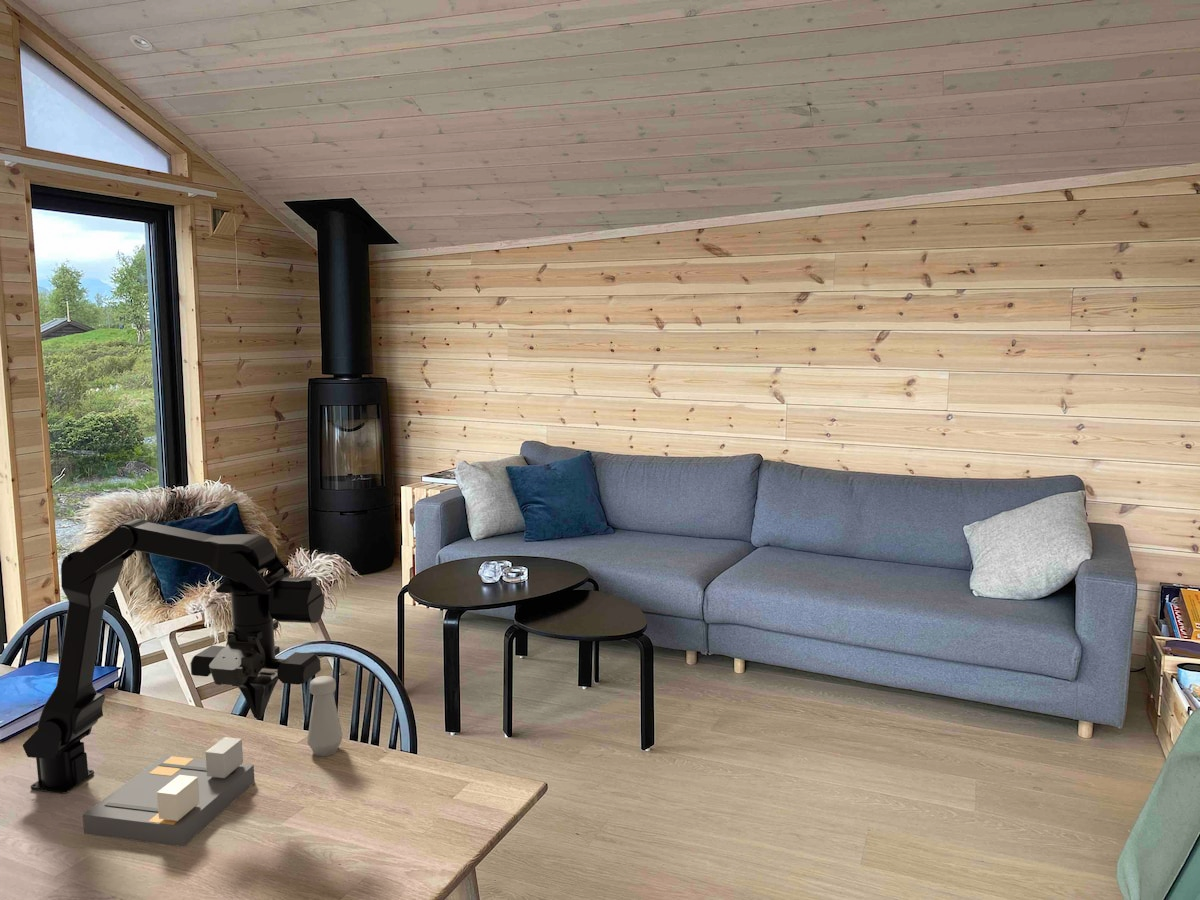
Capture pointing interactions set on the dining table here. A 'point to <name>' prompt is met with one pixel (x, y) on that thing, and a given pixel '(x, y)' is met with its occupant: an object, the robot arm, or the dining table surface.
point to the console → (137, 803)
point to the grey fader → (224, 757)
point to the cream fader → (178, 797)
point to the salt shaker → (324, 718)
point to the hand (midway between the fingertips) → (258, 717)
